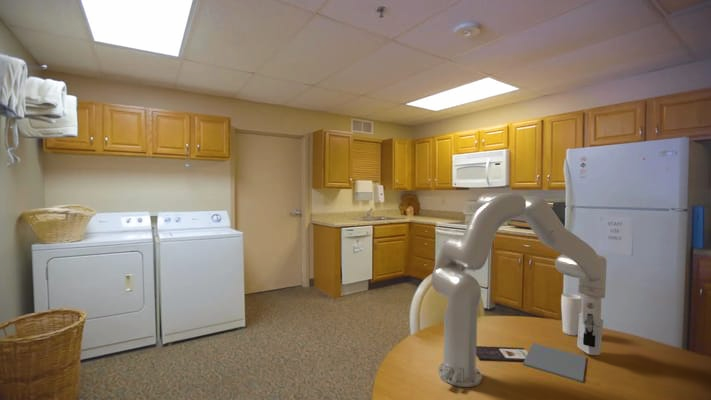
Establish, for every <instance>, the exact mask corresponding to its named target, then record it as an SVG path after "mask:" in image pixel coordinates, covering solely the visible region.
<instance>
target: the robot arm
mask: <svg viewBox="0 0 711 400" xmlns="http://www.w3.org/2000/svg"><path fill="white" fill-rule="evenodd" d="M475 208H476V211H474V212H473V214H472V215H471V217H470V219H469V221H468V223H467V225H466V228H465V230H464V233H463V234H462V235H460V234H455V235H451V236H450V237H448V238H447V239H446V240H445V241H444V242H443V243H442V245H441V248H440V250H439V253H438V256H437V258H436V261H435V265H434V267H433V271H432V274H431V284H432V285H431V286H432V288H433V290H435V292H436V293H437V294H439V295H441V296H443V297H444V298H446V299H447V305H446V308H445V309H444V310H445V311H444V314H443V363H441V364H440V365H439V366H438V369H437V370H438V371H437V373H438V376H439V377H440V380H441V381H442V382H444V383H448V384H450V385H453V386H456V387H460V388H472V387H475V386H479V384H480V383H482V380H483V378H482V376H483V375H482V372H480V370H479V369H478V368H477V355H476V354H477V346H478V342H477V340H478V339H477V338H478V311H479V305H480V300H481V297H482V296H481V295H482V287H481V285H480V283H479V281H478V280H477V279H476V278H475V277H474V276H472V275H471V274H469V273H467V272H464V271H462V269H463V268H465V269H468V270H470V271H479V270H481V269H482V268H484V266H485V265H486V263H487V260H488V257H489V255H490V253H491V252H490V251H491V248H492V246H493V243H494V240H495V237H496V235H497V232H498V231H499V229H500V228H501V227H502V226H503V225H504V224H506V223H507V222H509V221H511V220H514V221H521V222H525V223H526V224H527V225H528V227H529V228H530V229H531V230H532V232H533V233H534V234H535V236H536V237H537V239H538V240H539V242H540V243H541V244H543V245H544V246H546V247H548V248H550V249H552V250H553V251H556V252H558V253H560V255H558V256H557V257H556V259H555V260H554V266H555V269H556V270H557V271H558V272H559V273H561V274H562V275H565V276H567V277H572V278H576V279H578V289H577V290H578V292H577V293H578V294H579V296H581V300H582V306H581V314H582V321H583V324H584V325H585V332H584V337H583V344H584V345H586V346H590V347H595V335H594V334H595V326H596V327H598V328H600V324H601V319H602V299H605V298H606V290H607V289H606V287H607V286H606V285H607V284H606V283H607V262H608V261H607V259H606V257H605V256H603V255H600V254H597V252H596V251H595V249H594V248H593V247H592V246H591V245H590V244H588V243H587V242H585V241H584V240H583V239H582V238H580V237H579V236H578V235H576V234H574V232H571V231H570V230H568V229H567V228H566V227H565V226H564V223H563V222H562V221H561V220H560V218H559V216H557V214H556V213H555V211H554V210H553V208H552V207H551V205H550V204H549V203H548V202H547V200H546V199H544V198H542V197H541V196H537V195H522V194H519V193H516V192H486V193H483V194H481V195H479V196H478V198H477V200H476V203H475ZM592 315H593V319H592ZM592 320H593V323H594V326H593V325H592ZM586 322H587V324H586ZM592 328H593V329H592ZM592 334H593V335H592Z"/></svg>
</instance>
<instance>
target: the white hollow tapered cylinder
mask: <svg viewBox="0 0 711 400" xmlns="http://www.w3.org/2000/svg"><path fill="white" fill-rule="evenodd" d="M560 307H561V308H560V310H561V321H562V322H561V323H562V332H563V334H566V335H568V336H573V337H574V336H578V327H579V314H582V296H581V295H577V294H574V293H561V298H560Z"/></svg>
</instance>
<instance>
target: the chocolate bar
mask: <svg viewBox="0 0 711 400" xmlns="http://www.w3.org/2000/svg"><path fill="white" fill-rule="evenodd" d="M528 352H529V351H527V350H526V349H525V348H524V347H512V346H511V347H510V346H509V347H508V346H504V347H503V346H485V345H484V346H482V345H481V346H480V345H477V354H476V358H478V360H479V361H484V362H486V361H488V362H508V363H509V362H510V363H512V362H513V363H523V362H524V360H525V358H526V356H527V354H528Z"/></svg>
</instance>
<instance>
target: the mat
mask: <svg viewBox="0 0 711 400" xmlns="http://www.w3.org/2000/svg"><path fill="white" fill-rule="evenodd" d="M527 352H528V354H527V356H526V358H525V360H524V362H522V365H523V366H526V367H528V368H532V369H536V370H539V371H542V372H545V373H549V374H553V375H555V376H560V377H562V378H566V379H570V380H573V381H576V382H579V383H584V376H585V369H586V361H587V356H586V355H585V356H584V355H581V354H576V353H573V352H569V351H567V350H565V351H564V350H561V349H557V348H553V347H549V346H546V345H543V344H539V343H535V342H533V343H532V345H531V346H530V349H529V350H528V351H527Z"/></svg>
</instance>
